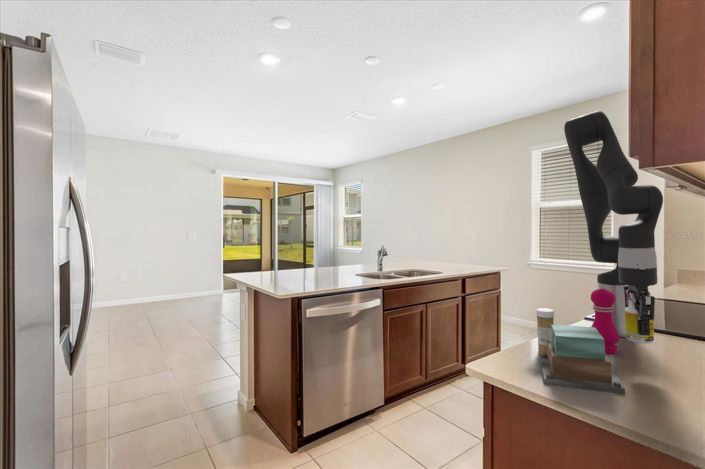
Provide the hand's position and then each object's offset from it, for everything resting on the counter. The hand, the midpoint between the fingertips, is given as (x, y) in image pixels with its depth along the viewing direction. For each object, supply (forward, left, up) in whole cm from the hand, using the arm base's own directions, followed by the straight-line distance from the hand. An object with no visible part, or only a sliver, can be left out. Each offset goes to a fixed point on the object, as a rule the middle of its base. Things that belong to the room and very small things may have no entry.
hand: (639, 330), depth 87 cm
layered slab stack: (+6, -15, -11) cm, 19 cm away
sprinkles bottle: (-6, -21, -11) cm, 24 cm away
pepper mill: (-15, -5, -11) cm, 19 cm away
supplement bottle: (0, 0, -3) cm, 3 cm away
